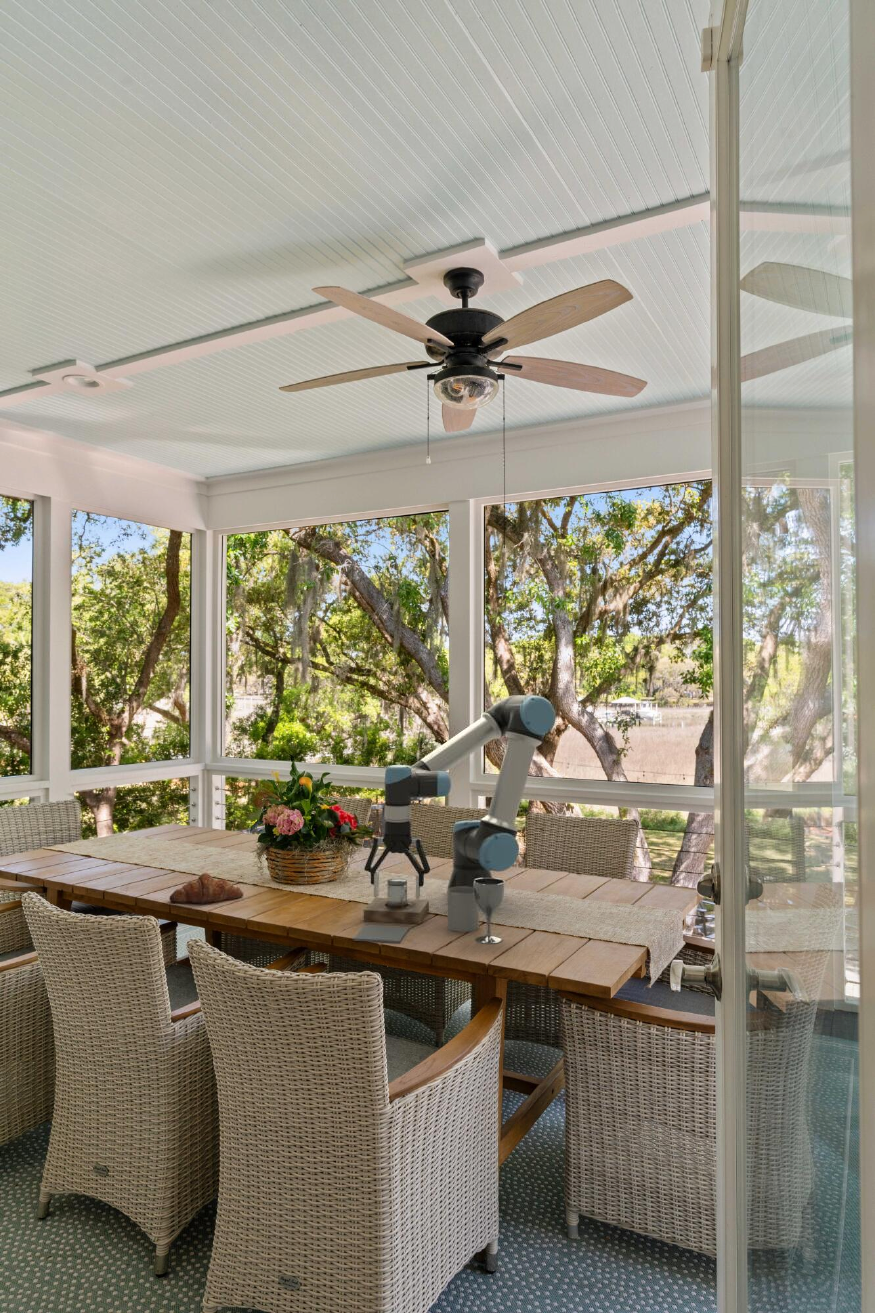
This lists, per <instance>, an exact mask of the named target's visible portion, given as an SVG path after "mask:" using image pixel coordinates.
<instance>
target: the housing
mask: <svg viewBox="0 0 875 1313" xmlns="http://www.w3.org/2000/svg"><path fill="white" fill-rule="evenodd" d="M429 910H430V900H429V899H416V898H414V899H411V898H407V907H405V908H389V907H387V897H373V900H372V901H371V902H369V904H367V906H366V907H365V908H364V909H363V921H364V922H375V923H376V922H379V923H380V922H381V923H395V924H396V923H399V924H416V925H418V924H419V925H420V924H421V923H422V922H423V920H424V919H425V917H426V915H427V914H428V912H429Z"/></svg>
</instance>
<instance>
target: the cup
mask: <svg viewBox="0 0 875 1313" xmlns="http://www.w3.org/2000/svg"><path fill="white" fill-rule="evenodd" d="M479 910H480V907H479V906H478V904H477V903H476V900H475V895H474V887H467V886H459V887H452V888H449V889H448V894H447V928H448V929H449V930H451V931H453V932H459V933H461V932H462V933H463V932H465V933H467V932H468V933H469V932H474V931H477V930H479V927H480V925H479V924H480V918H479V917H480V916H479V914H480V912H479Z"/></svg>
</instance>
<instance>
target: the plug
mask: <svg viewBox="0 0 875 1313" xmlns="http://www.w3.org/2000/svg"><path fill="white" fill-rule="evenodd" d="M386 884H387V888H386V889H387V891H386V893H387V894H386V896H387V897H386V898H387V907H389V908H405V907H407V899H408V879H406V878H403V877H393V878H388V879H387V882H386Z"/></svg>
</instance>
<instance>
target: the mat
mask: <svg viewBox="0 0 875 1313" xmlns="http://www.w3.org/2000/svg"><path fill="white" fill-rule="evenodd" d="M409 931H410V927H408V926H407V927H406V926H389V925H388V926H387V925H370V924H367V925H366V924H365V925H364V926H363V927H362V928H361V930H360V931H359V932H358V933H357V934H356V935H355V936H354V938H353V941H355V942H357V941H358V942H370V943H373V942H374V943H389V944H390V943H391V944H401V942H402V941H403V939H404V938H405V937H406V935H407V933H408V932H409Z"/></svg>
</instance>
